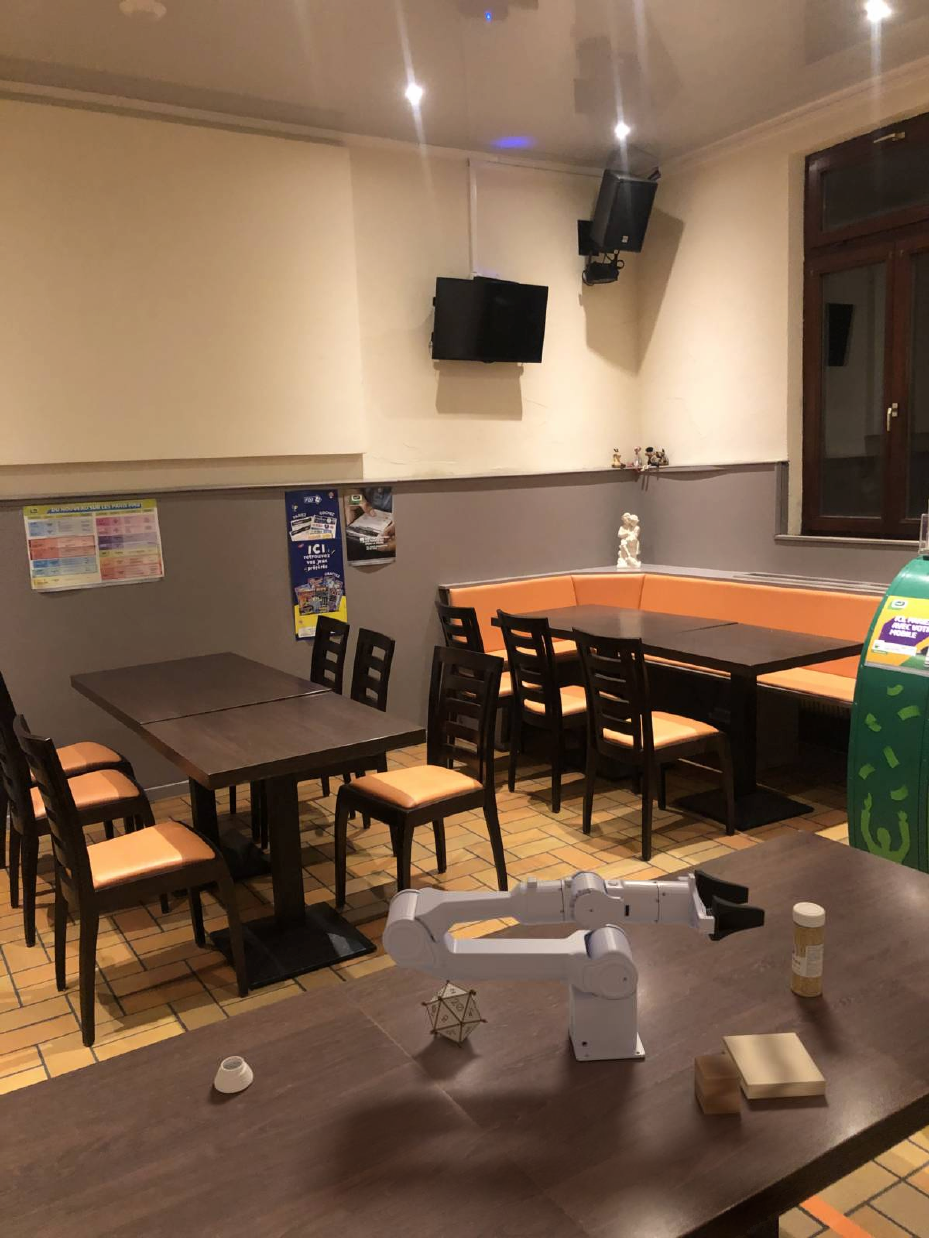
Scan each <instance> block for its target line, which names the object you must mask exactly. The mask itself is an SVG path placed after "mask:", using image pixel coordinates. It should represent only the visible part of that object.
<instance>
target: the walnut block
mask: <svg viewBox="0 0 929 1238" xmlns="http://www.w3.org/2000/svg"><path fill="white" fill-rule="evenodd" d="M693 1081H694V1083H693V1084H694V1085H693V1087H694V1090H693V1091H694V1093H695V1095H696V1098H697V1100H698V1103H699V1104H700V1107H701V1110H702V1112H703V1114H704V1115H715V1114H717V1115H718V1114H719V1115H720V1114H721V1115H722V1114H732V1113H733V1114H736V1113H741V1088H742V1087H741V1076H740V1074H739V1072H738V1070H737V1068H736V1066H735V1064H734V1063H733V1061H732V1059H731V1057H730V1055H729V1054H725V1053H723V1054H722V1053H721V1054H708V1055H707V1054H706V1055H704V1054H703V1055H694V1080H693Z"/></svg>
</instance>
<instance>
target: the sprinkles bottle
mask: <svg viewBox="0 0 929 1238" xmlns="http://www.w3.org/2000/svg"><path fill="white" fill-rule="evenodd" d="M792 919H793V921H792V922H793V936H792V937H793V939H792V951H791V952H792V954H791V955H792V957H791V982H790V989H791V990H792V992H793V993H795V994H797V995H798V996H801V997H805V998H806V997H808V998H811V997H814V998H815V997H817V996H820V995H821V993H822V973H823V959H824V958H823V957H824V955H823V954H824V925H825V922H826V910H825V909H824V908H823V907H822V906H820V905H819V904H816V903H812V902H804V901H802V902H798V903H796V904H795V905H793V907H792Z"/></svg>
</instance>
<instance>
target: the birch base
mask: <svg viewBox="0 0 929 1238" xmlns="http://www.w3.org/2000/svg"><path fill="white" fill-rule="evenodd" d="M722 1041H723V1042H722V1050H723V1052H724V1053H723V1054H729V1055H730V1057H731V1059H732V1061H733V1063H734V1064H735V1066H736V1068H737V1070H738V1072H739V1074H740V1076H741V1088H742V1090H743V1093H744V1094H745V1096H746V1098H747V1100H752V1099H771V1098H786V1097H787V1098H789V1097H804V1096H806V1097H808V1096H823V1095H825V1094H826V1079H825V1078H824V1076H823V1075H822V1073H821V1071H820V1070H819V1068H818V1067H817V1065H816V1064H815V1062H814V1060H813V1059H812V1057H811V1056H810V1054H809V1053H808V1051H807V1050H806V1048H805V1047H804V1045H803V1043H802V1041H801V1040H800V1039H799V1037H798V1036H797V1034H796V1032H786V1033H785V1032H782V1033H763V1034H748V1035H745V1034H744V1035H732V1036H731V1035H730V1036H729V1035H727V1036H723V1038H722Z"/></svg>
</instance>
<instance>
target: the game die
mask: <svg viewBox="0 0 929 1238" xmlns="http://www.w3.org/2000/svg"><path fill="white" fill-rule="evenodd" d="M445 981H446V983H445V985H443V986H442V987H441V989H439V990H438V991H437V992H436V993H435V994H434V995H433V997H431V998H430V1000H428V1002H427V1003H426V1002H424V1001H422V1002H420V1004H421V1006H423V1007H426V1010H427V1013H428V1016H429V1019H430V1023H431V1026H432V1029H431V1030H430V1032H429V1035H430V1036H431V1035H434V1036H438V1035H441V1036H443V1037H444V1038H446V1039H448V1040H451V1041H453V1042H455V1043H457V1044H458V1045H457V1046H458V1047H457V1048H458V1049H459V1050H460V1051H462V1049H463V1045H462V1042H463V1041H465V1039H466V1038H467V1037H468V1036H469V1035H470V1033H472V1032H473V1031H474V1029H476V1027H477V1026H478V1025H480V1023H481V1022H482V1023H483V1024H486V1023H488V1020H487V1019H486V1018H482V1016H481V1013H480V1011H479V1007H478V1004H477V1001H476V999H475V996H476V995H477V992H478V991H475V989H474V988H471V989H470V990H469V991H468V990H466V989H464V988H462V987H460V986H458V985H455V984H454V983H452V982H451V981H450V980H445Z"/></svg>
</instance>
